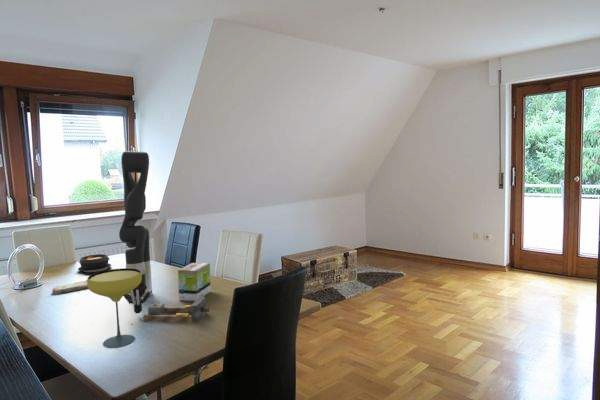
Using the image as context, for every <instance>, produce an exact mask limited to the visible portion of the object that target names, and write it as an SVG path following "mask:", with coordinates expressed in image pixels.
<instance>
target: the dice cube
mask: <svg viewBox="0 0 600 400" xmlns="http://www.w3.org/2000/svg"><path fill="white" fill-rule="evenodd" d="M164 307H165V303H164V302H162V303H159V302H158V303H151V304H150V305H148V307H147V313H148V314H147V315H166V314H165V313H164Z"/></svg>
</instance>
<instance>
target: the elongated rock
mask: <svg viewBox="0 0 600 400" xmlns="http://www.w3.org/2000/svg"><path fill="white" fill-rule="evenodd" d="M81 290H83V291H84V290H89V289H88V286H87V279H85V280H82V281H78V282H77V281H76V282H73V283H69V284H63V285H59V286H55V287H53V288H52V291H51V293H52V295H60V294H66V293H72V292H78V291H81Z"/></svg>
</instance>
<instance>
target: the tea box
mask: <svg viewBox="0 0 600 400" xmlns="http://www.w3.org/2000/svg"><path fill="white" fill-rule="evenodd" d="M177 271H178V272H177V273H178V274H177V276H178V280H177V281H178V299H179V301H189V302H190V301H191V302H192V301H193V302H195V301H196V300H197V299H198V298H199V297H205V296H206V295H208V294H209V293H210V292H211V291H212V290H211V289H212V288H211V265H210V263H207V262H205V263H204V262H191V263H189V264H188V265H185V266H183V267H181V268H180V269H178V270H177Z"/></svg>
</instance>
